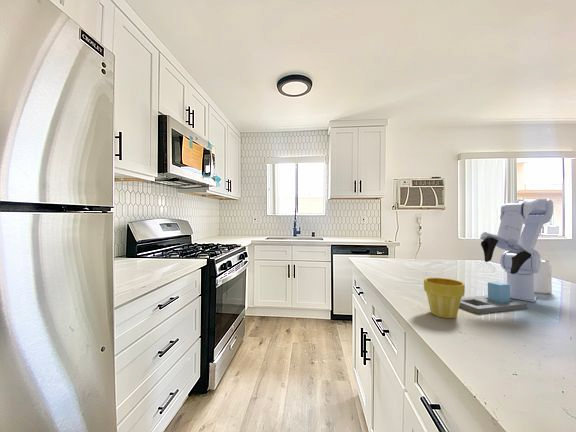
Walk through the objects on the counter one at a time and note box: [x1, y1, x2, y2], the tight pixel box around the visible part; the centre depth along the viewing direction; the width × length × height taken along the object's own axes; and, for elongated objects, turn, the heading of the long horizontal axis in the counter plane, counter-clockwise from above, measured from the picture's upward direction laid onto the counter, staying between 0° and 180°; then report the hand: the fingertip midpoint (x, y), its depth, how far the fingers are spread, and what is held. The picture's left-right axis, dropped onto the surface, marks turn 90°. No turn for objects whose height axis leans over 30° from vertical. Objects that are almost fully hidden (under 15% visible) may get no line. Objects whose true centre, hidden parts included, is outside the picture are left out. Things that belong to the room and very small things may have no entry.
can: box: [534, 259, 553, 295], centre depth 100 cm, size 6×6×12 cm
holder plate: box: [459, 294, 528, 315], centre depth 84 cm, size 10×19×2 cm, turn 104°
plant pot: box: [423, 277, 466, 319], centre depth 77 cm, size 10×10×10 cm
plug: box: [487, 281, 511, 303], centre depth 85 cm, size 4×4×7 cm
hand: (500, 266), depth 82 cm, fingers open, 7 cm apart
